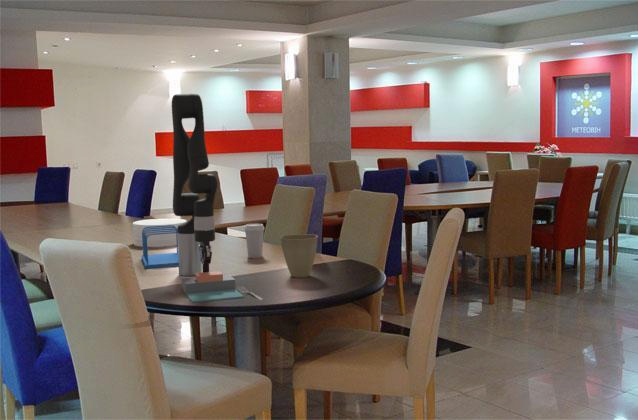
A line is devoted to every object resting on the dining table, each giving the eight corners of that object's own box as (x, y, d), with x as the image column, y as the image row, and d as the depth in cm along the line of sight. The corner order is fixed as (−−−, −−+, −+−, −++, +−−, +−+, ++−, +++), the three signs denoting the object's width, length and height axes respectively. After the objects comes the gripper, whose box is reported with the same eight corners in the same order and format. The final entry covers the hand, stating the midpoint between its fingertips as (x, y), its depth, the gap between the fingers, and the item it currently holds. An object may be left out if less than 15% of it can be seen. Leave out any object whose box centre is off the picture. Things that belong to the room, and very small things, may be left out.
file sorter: (141, 259, 322) (140, 226, 320) (179, 256, 328) (178, 224, 326) (145, 269, 299) (144, 233, 297) (186, 266, 304) (185, 231, 302)
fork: (264, 304, 234) (264, 299, 234) (235, 291, 255) (235, 286, 255) (273, 303, 236) (273, 298, 236) (243, 289, 257) (243, 285, 257)
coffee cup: (252, 259, 317) (252, 226, 315) (240, 256, 324) (239, 224, 322) (269, 256, 323) (268, 224, 322) (257, 254, 330) (256, 222, 329)
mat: (186, 295, 248) (186, 293, 248) (235, 290, 254) (235, 289, 254) (192, 302, 237) (192, 301, 237) (243, 297, 243) (243, 296, 243)
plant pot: (315, 271, 287) (314, 233, 286) (321, 278, 273) (320, 238, 271) (279, 273, 285) (278, 234, 283) (283, 280, 270) (282, 240, 268)
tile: (195, 279, 255) (195, 273, 255) (219, 277, 258) (219, 271, 258) (198, 282, 249) (198, 276, 249) (223, 280, 252) (222, 274, 252)
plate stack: (170, 237, 390) (169, 217, 389) (197, 242, 370) (196, 221, 368) (124, 243, 371) (123, 222, 370) (150, 249, 351) (149, 226, 350)
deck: (181, 289, 258) (181, 278, 257) (229, 284, 264) (228, 274, 263) (186, 294, 248) (185, 283, 248) (235, 290, 254) (235, 279, 254)
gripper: (191, 226, 262) (192, 272, 264) (197, 230, 249) (199, 278, 251) (210, 225, 264) (212, 270, 266) (218, 229, 252) (219, 276, 254)
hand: (206, 274), depth 259 cm, fingers closed
